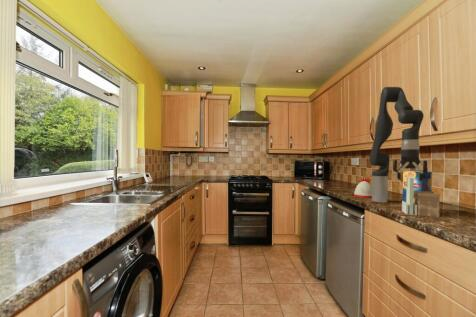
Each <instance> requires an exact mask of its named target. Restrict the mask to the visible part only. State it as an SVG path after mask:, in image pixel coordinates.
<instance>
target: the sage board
mask: <svg viewBox="0 0 476 317" xmlns="http://www.w3.org/2000/svg"><path fill="white" fill-rule="evenodd" d="M413 190H414V178H408V177H407V193H406V203H407V204H408V214H409V215H410V216H414V215H413ZM409 215H408V216H409Z"/></svg>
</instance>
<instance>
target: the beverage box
mask: <svg viewBox="0 0 476 317" xmlns="http://www.w3.org/2000/svg"><path fill="white" fill-rule="evenodd" d="M418 174H419V172H418V171H417V170H402V201H404V202H406V193H407V177H408V178H414V190H413V191H428V192H433V172H432V171H428V172H425V173H423V179H422V180H421V181H419V180H418Z"/></svg>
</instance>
